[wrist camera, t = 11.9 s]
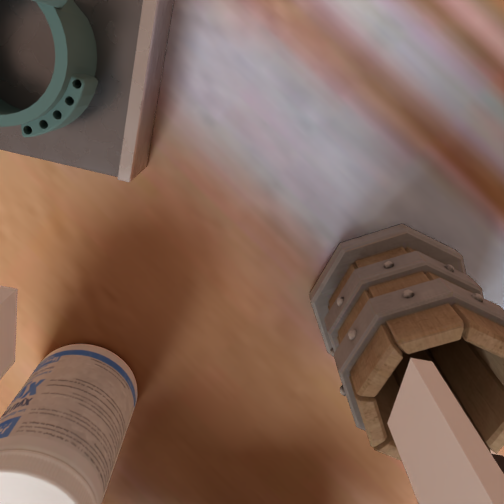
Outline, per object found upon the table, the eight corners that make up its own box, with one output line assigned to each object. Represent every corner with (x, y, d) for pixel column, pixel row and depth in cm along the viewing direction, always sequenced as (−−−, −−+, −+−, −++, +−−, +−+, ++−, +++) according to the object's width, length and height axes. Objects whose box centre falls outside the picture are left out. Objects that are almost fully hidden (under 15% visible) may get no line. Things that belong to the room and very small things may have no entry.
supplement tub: (47, 327, 43) (-52, 449, 29) (151, 355, 44) (103, 486, 30) (30, 411, 46) (-65, 557, 32) (127, 436, 47) (75, 587, 33)
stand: (147, 166, 38) (129, 182, 32) (-36, 122, 37) (-85, 132, 31) (177, -18, 33) (162, -34, 28) (-31, -74, 32) (-87, -101, 27)
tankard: (295, 255, 40) (317, 356, 26) (446, 208, 39) (554, 288, 25) (356, 436, 47) (399, 592, 33) (487, 401, 45) (590, 551, 31)
